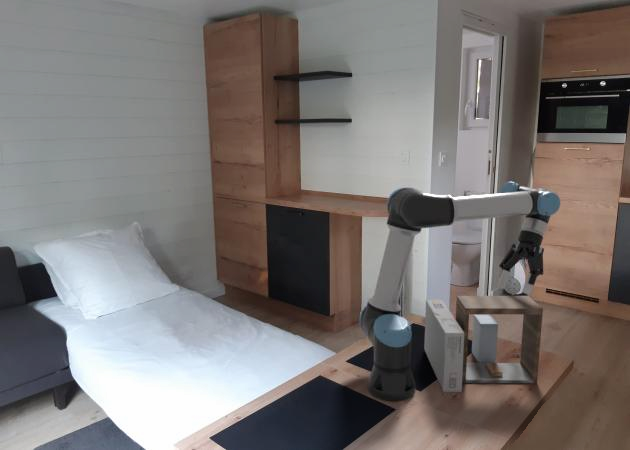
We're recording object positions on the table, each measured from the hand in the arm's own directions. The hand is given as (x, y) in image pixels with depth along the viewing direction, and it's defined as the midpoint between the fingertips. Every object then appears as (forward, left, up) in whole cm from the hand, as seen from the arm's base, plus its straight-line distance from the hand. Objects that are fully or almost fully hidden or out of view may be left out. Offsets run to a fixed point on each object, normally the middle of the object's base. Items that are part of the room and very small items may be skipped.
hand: (512, 290), depth 168 cm
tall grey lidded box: (-7, +6, -28) cm, 29 cm away
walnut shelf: (-7, -6, -28) cm, 29 cm away
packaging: (-24, -3, -28) cm, 37 cm away
